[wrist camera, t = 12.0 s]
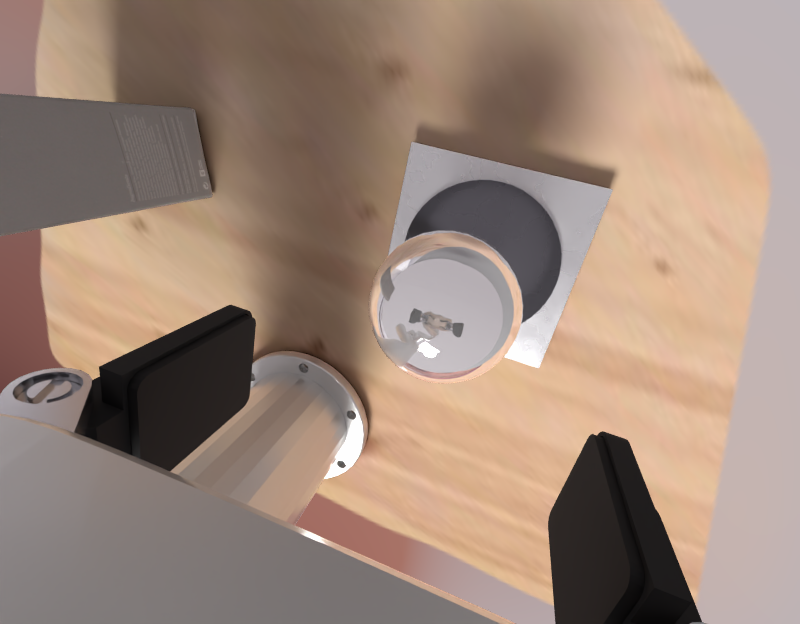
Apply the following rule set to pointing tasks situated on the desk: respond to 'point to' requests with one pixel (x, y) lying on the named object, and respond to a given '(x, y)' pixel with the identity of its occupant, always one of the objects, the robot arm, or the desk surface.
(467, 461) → the desk surface
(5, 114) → the skincare box
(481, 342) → the light bulb
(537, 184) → the duct plate
